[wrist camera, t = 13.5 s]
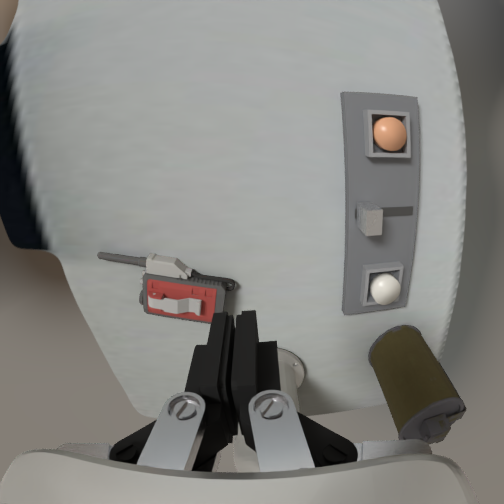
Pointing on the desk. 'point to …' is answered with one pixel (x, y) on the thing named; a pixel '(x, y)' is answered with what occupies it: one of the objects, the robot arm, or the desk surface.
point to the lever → (369, 218)
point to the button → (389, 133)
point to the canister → (415, 385)
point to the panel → (379, 197)
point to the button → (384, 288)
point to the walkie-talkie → (176, 288)
